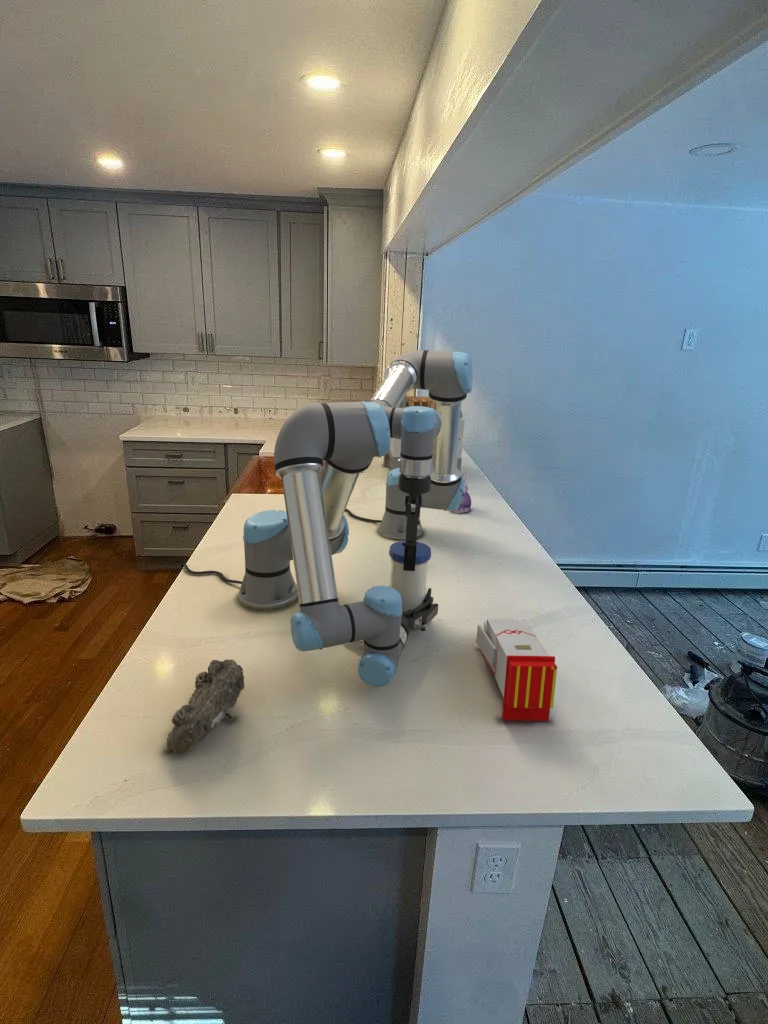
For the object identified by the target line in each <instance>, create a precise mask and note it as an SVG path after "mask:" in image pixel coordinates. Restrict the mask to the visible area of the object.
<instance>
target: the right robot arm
mask: <svg viewBox="0 0 768 1024" xmlns="http://www.w3.org/2000/svg"><path fill="white" fill-rule="evenodd" d="M473 373H474V372H473V361H472V357H471V356H470V354H469V353H467V352H461V351H457V350H453V351H451V350H431V349H414V350H410V351H407V352H405V353H403V354H401V355H400V356H397V357H396V358H394V359H393V360H392V361H391V362H390V363H389V365H388V366H387V367H386V369H385V372H384V378H383V380H382V381H381V383H380V385H378V388H377V389H376V391H375V392H374V393H373V395H372V397H371V398H370V400H369V401H368V402H375V403H378V404H379V405H381V406H382V408H383V409H384V411H385V413H386V415H387V418H388V422H389V428H390V438H398V439H401V452H400V459H398V460H397V463H399V464H400V468H396V469H393V470H391V471H390V470H389V472H388V473H387V475H386V482H385V504H384V505H385V507H384V508H385V509H384V513H383V515H382V519H373V518H366V517H361V516H358V515H356V514H354V513H352V511H351V510H349V509H348V508H347V507H346V508H345V511H344V512H347V513H348V515H350V516H351V517H352V518H354V519H357V520H360V521H364V522H370V523H377V524H378V523H379V527H378V533H379V534H380V535H381V536H382V537H385V538H387V539H389V540H395V541H406V542H405V543H402V546H405V551H404V567H403V570H404V571H415V560H416V546H417V543H416V541H417V539H418V538H420V537H421V536H422V535H423V525H422V524H421V518H420V517H421V508H422V509H430V510H431V509H433V510H442V511H445V512H447V511H451V512H453V511H455V510H457V509H458V508H459V504H460V500H461V496H462V491H463V487H464V483H465V478H463V477H462V471H461V472H460V470H459V469H458V468H457V459H458V444H459V428H460V413H461V412H462V402H464V401H465V400H466V399H467V395H468V394H470V393H472V391H473V378H474V376H473ZM412 390H424V391H428V397H429V398H430V399H431V400H432V401H433V408H429V407H423V406H411V407H406V408H399V406H400V404H401V402H402V401H403V399H404V397H405V395H406V393H407V394H408V393H409V392H410V391H412Z"/></svg>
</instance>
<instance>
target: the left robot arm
mask: <svg viewBox="0 0 768 1024" xmlns="http://www.w3.org/2000/svg"><path fill="white" fill-rule="evenodd" d="M389 448H390V428H389V422H388V418H387V415H386V413H385V411H384V409H383V408H382V406H381V405H379V404H378V403H375V402H369V401H364V400H362V401H347V402H346V401H345V402H343V401H342V402H323V403H322V402H313V403H312V402H311V403H307V404H304V405H302V406H300V407H298V408H297V409H295V410H294V411H293V412H292V413H290V415H289V416H288V417H287V418H286V419H285V421H284V422H283V424H282V426H281V428H280V430H279V432H278V435H277V437H276V440H275V443H274V449H273V464H274V465H273V466H274V471H275V472H274V473H275V476H277V477H278V478H279V479H280V480H281V484H282V491H283V497H284V498H283V499H284V504H285V506H284V507H285V510H280V509H278V510H276V509H268V510H264V511H260V512H256V513H254V514H252V515H251V516H250V517H248V518H247V519H246V520H245V522H244V524H243V536H242V540H243V546H244V547H243V548H244V549H243V550H244V575H243V578H242V580H237V579H236V580H235V579H228V578H226V577H225V576H224V574H223V573H222V572H220V571H217V570H202V571H196V570H195V571H193V570H191V569H190V568H189V567H188V565H187V563H186V562H183V563H181V565H180V567H182V568H183V567H184V568H185V570H186V571H187V573H189V574H191V575H192V574H193V575H205V574H206V575H207V574H216V575H218V576H220V578H221V579H222V580H223V581H225V582H226V583H230V584H238V585H241V586H240V588H239V592H238V597H239V602H240V603H241V604H242V605H243V606H244V607H246V608H248V609H251V610H255V611H276V610H281V609H283V608H286V607H288V606H291V605H292V604H293V603H295V602H296V600H297V598H298V603H299V609H300V610H299V611H297V612H294V613H293V614H291V617H290V633H291V639H292V642H293V644H294V647H295V648H296V649H297V650H298V651H300V652H308V651H309V652H310V651H317V650H319V651H320V650H323V649H327V648H331V647H336V646H340V645H346V644H350V643H357V642H361V641H362V654H361V656H360V658H359V660H358V665H357V675H358V677H359V678H360V680H361V681H362V682H363V683H364V684H365V685H367V686H369V687H373V688H377V689H378V688H384V687H386V686H388V685H389V684H391V682H392V681H393V679H394V677H395V675H396V674H397V669H398V666H399V664H400V661H401V658H402V655H403V653H404V650H405V647H406V645H407V642H408V639H409V637H410V634H411V633H412V630H414V629H415V628H414V627H417V628H419V629H420V631H421V632H426V630H427V626H428V625H429V624H430V623H431V622H432V621H433V620H434V619H435V618H436V616H437V615H438V613H439V603H434V596H432V590H433V589H432V587H428V589H427V590H426V597H425V599H424V603H423V604H422V605H420V606H418V607H416V608H414V609H413V610H412V609H409V610H408V611H406V612H404V611H402V598H401V595H400V593H399V592H398V591H397V590H396V589H394V588H391V587H389V586H390V584H389V585H388V586H387V585H374V586H372V587H371V588H368V589H367V590H366V591H365V593H364V597H363V600H362V601H357V602H350V603H346V604H340V603H339V594H338V589H337V581H336V575H335V569H334V561H333V556H334V555H337V554H341V553H342V552H343V551H344V550H345V549H346V548H347V545H348V543H349V535H350V528H349V522H348V519H347V518H346V515H345V514H344V513H345V512H346V511H345V508H346V509H347V506H348V503H349V501H350V499H351V496H352V494H353V491H354V488H355V486H356V483H357V481H358V478H359V476H360V474H361V473H363V472H365V471H366V470H368V469H369V467H371V464H372V462H373V459H374V458H382V457H384V456H385V455H386V454H387V453H388V451H389ZM291 561H293V567H294V574H295V579H294V577H293V574H292V572H291ZM421 617H422V618H421ZM417 619H419V620H418V621H417V622H415V620H417ZM417 628H416V629H417Z"/></svg>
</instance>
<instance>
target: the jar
mask: <svg viewBox="0 0 768 1024" xmlns="http://www.w3.org/2000/svg"><path fill="white" fill-rule="evenodd" d="M429 560H430V559H429ZM429 560H428V561H427V562H424V563H420V564H415V571H404V570H403V567H404V563H400V562H397V561H395V560H393V559H392V558H391V557H390V569H389V570H390V571H389V585H390V586H389V585H388V587H391V588H394V589H396V590H397V591H398V592H399V593H400V595H401V598H402V611H404V612H406V611H408V610H409V609H412V610H413V609H414V608H416V607H418V606H420V605H422V604H423V603H424V599H425V597H426V594H427V587H428V575H429V562H430V561H429ZM421 618H422V617H421ZM418 620H419V619H417V620H415V622H417V621H418ZM414 629H417V627H414Z"/></svg>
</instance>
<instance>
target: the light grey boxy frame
mask: <svg viewBox="0 0 768 1024" xmlns="http://www.w3.org/2000/svg"><path fill="white" fill-rule="evenodd" d="M407 394H408V392H407V393H406V395H405V397H404V399H403V401H402V402H401V404H400V406H399V408H406V407H411V406H423V407H429V408H433V401H432V400H431V399H430V398H429V396H415V395H414V396H413V395H412V396H411V395H407ZM464 429H465V419H464V418H463V411H461V413H460V428H459V444H458V459H457V468H458V469H459V470H460V472H461V473H462V461H463V460H462V453H463V442H464V441H463V440H462V439H463V438H464V431H465V430H464ZM400 452H401V439H398V438H390V448H389V451H388V453H387V454H386V455H385V456H383V466H384V467H388V468H389V472H390V471H391V470H393V469H396V468H400V464H399V463H397V460H398V459H400Z"/></svg>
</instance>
